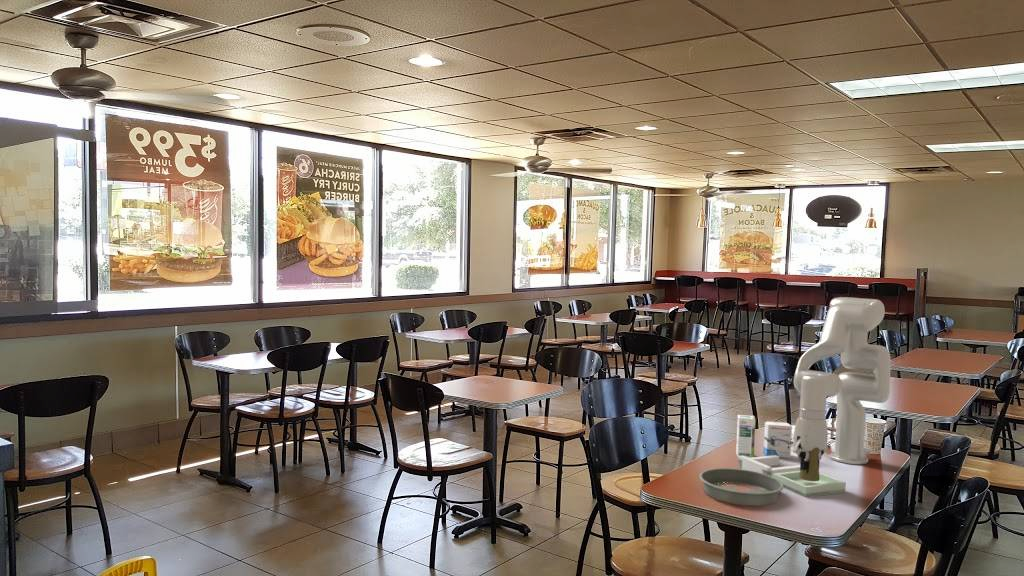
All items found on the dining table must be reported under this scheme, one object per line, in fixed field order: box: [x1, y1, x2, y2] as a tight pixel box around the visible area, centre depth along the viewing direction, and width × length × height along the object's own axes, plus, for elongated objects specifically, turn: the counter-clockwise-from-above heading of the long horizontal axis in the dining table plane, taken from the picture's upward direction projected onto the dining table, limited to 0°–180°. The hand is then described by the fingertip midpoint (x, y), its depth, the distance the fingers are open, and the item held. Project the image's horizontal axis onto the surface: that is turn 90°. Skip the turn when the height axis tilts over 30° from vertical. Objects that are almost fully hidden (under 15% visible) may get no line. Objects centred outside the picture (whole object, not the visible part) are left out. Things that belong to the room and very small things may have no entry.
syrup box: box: [735, 414, 756, 458], centre depth 265 cm, size 6×6×14 cm
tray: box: [773, 471, 847, 498], centre depth 231 cm, size 16×14×3 cm
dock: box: [737, 455, 800, 477], centre depth 247 cm, size 16×14×4 cm
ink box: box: [763, 421, 793, 459], centre depth 266 cm, size 9×5×12 cm, turn 84°
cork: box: [799, 447, 820, 481], centre depth 231 cm, size 6×6×11 cm
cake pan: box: [699, 467, 785, 506], centre depth 223 cm, size 25×25×4 cm
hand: (809, 471), depth 231 cm, fingers closed on cork, 3 cm apart
